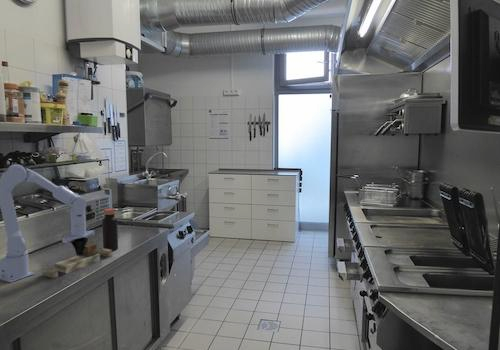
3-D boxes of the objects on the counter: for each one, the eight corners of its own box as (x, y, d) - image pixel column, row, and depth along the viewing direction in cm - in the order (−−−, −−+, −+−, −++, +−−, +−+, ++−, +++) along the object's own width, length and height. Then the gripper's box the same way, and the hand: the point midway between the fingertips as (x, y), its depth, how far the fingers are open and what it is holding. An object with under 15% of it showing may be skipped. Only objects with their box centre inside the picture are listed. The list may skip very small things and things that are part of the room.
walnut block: (88, 257, 154) (88, 247, 153) (81, 255, 156) (80, 245, 155) (96, 254, 158) (96, 244, 157) (89, 252, 160) (89, 242, 159)
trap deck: (54, 278, 138) (54, 270, 138) (42, 275, 141) (42, 267, 141) (112, 256, 164) (112, 249, 164) (101, 253, 167) (101, 247, 167)
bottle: (113, 251, 170) (111, 211, 168) (100, 250, 172) (98, 210, 170) (120, 247, 177) (119, 208, 175) (108, 246, 178) (107, 207, 176)
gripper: (69, 229, 143) (71, 261, 144) (99, 221, 156) (100, 251, 157) (58, 227, 146) (59, 259, 147) (87, 220, 159) (88, 249, 160)
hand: (79, 255), depth 152 cm, fingers closed
